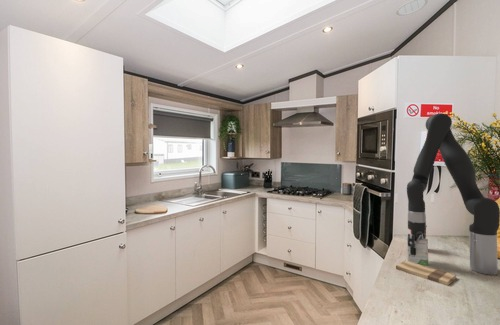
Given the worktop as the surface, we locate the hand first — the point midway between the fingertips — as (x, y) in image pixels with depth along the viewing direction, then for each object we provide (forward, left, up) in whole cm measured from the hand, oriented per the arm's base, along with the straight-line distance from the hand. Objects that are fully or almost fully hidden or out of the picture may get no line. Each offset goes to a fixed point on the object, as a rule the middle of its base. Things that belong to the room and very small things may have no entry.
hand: (416, 252), depth 125 cm
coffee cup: (-20, -7, -5) cm, 21 cm away
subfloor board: (+10, +7, -5) cm, 14 cm away
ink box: (-1, 0, -5) cm, 5 cm away
